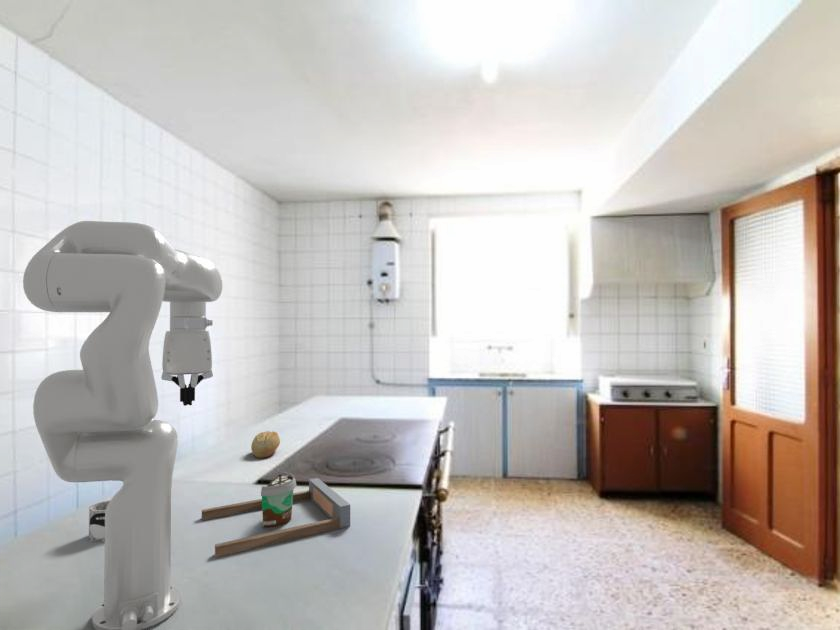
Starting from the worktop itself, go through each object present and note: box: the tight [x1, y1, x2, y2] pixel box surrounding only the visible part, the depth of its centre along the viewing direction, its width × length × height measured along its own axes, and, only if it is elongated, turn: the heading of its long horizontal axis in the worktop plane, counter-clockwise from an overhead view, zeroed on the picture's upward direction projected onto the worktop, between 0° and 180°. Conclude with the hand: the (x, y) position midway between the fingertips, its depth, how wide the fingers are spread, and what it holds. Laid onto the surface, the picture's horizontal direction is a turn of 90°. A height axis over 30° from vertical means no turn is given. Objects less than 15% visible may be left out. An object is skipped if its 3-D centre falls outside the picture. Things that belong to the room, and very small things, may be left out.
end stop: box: [308, 477, 351, 529], centre depth 124 cm, size 23×3×5 cm, turn 31°
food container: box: [260, 471, 297, 529], centre depth 118 cm, size 12×6×10 cm, turn 177°
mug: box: [88, 499, 111, 542], centre depth 110 cm, size 10×7×7 cm
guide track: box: [201, 489, 341, 558], centre depth 116 cm, size 23×27×2 cm
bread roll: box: [250, 430, 281, 459], centre depth 178 cm, size 10×15×8 cm, turn 7°
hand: (187, 404), depth 112 cm, fingers closed
